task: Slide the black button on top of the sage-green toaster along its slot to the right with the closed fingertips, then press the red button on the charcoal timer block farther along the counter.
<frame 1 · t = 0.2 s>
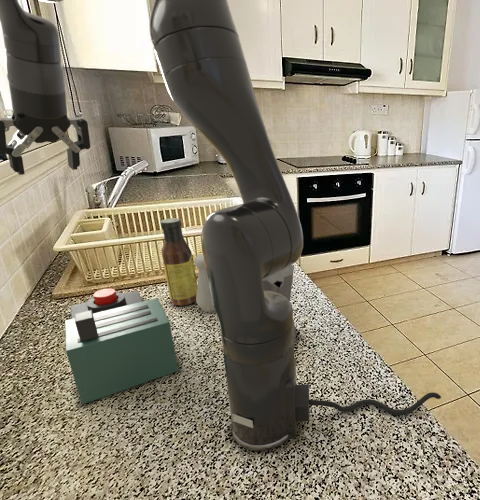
hand: (47, 170, 72), 31 cm above the countertop, tool tilted 20°, fingers open, 8 cm apart
sauce bottle: (184, 301, 89), on the countertop
coffeepot: (272, 336, 76), on the countertop
toaster slider: (86, 325, 56), point 12 cm above the countertop, slide at 0.0 cm
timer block: (109, 315, 82), on the countertop
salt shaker: (211, 308, 86), on the countertop
toaster: (129, 370, 65), on the countertop
start button: (105, 297, 80), point 5 cm above the countertop, slide at 0.1 cm
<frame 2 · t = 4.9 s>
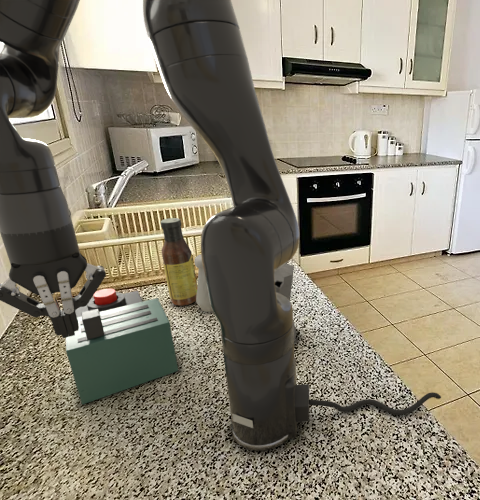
hand: (69, 334, 55), 12 cm above the countertop, tool pointing down, fingers closed
toaster slider: (93, 324, 57), point 12 cm above the countertop, slide at 0.9 cm, touching gripper
everything else where it was.
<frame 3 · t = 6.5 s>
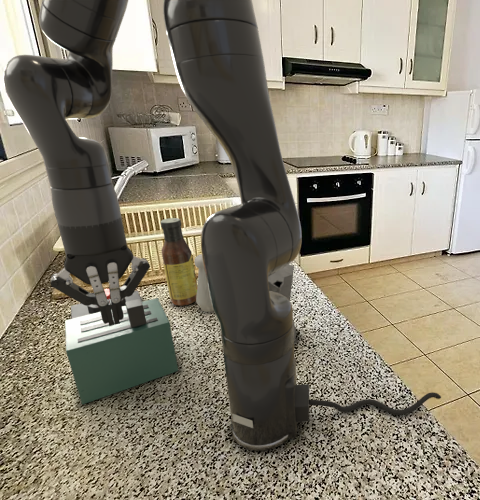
hand: (114, 322, 59), 11 cm above the countertop, tool pointing down, fingers closed
toaster slider: (135, 313, 60), point 12 cm above the countertop, slide at 6.7 cm, touching gripper
everything else where it was.
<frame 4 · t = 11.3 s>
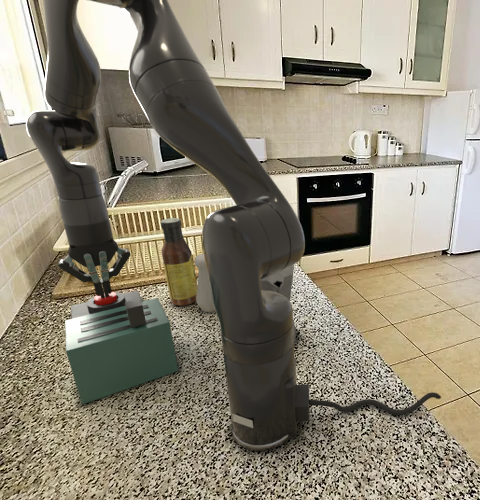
hand: (105, 295, 80), 5 cm above the countertop, tool pointing down, fingers closed
toaster slider: (135, 313, 60), point 12 cm above the countertop, slide at 6.6 cm
start button: (106, 300, 80), point 4 cm above the countertop, slide at -0.7 cm, touching gripper
everything else where it was.
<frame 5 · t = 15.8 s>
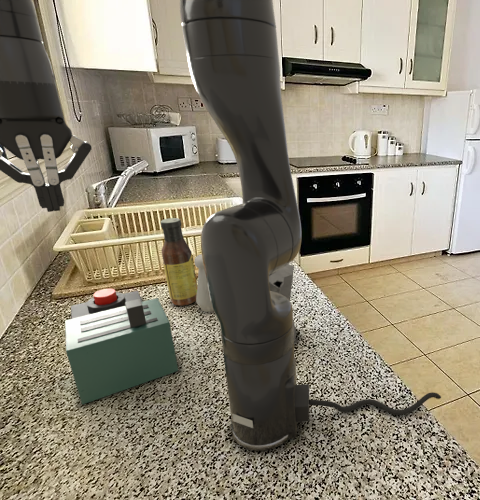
hand: (54, 210, 54), 29 cm above the countertop, tool pointing down, fingers closed
start button: (105, 297, 80), point 5 cm above the countertop, slide at 0.1 cm
everything else where it was.
at the end: toaster slider slide at 6.6 cm; start button pushed in 1.1 cm at the most during the clip, back to where it started at the end; start button slide at 0.1 cm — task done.
